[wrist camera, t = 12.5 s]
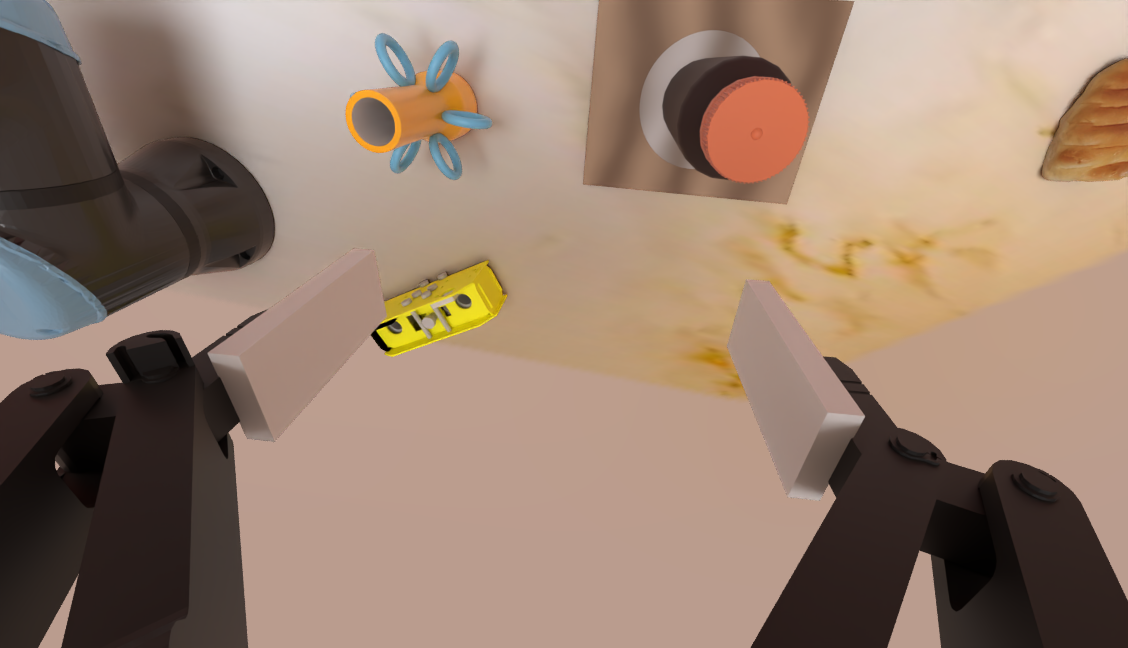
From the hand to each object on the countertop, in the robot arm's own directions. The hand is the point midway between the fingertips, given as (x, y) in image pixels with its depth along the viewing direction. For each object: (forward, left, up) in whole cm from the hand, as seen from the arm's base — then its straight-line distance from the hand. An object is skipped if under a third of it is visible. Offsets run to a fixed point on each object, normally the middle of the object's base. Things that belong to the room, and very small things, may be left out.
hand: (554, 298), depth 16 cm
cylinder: (-15, +3, -33) cm, 36 cm away
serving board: (+9, +5, -33) cm, 34 cm away
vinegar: (+8, +5, -31) cm, 32 cm away
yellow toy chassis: (-18, -19, -33) cm, 42 cm away
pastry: (+42, +5, -33) cm, 54 cm away
